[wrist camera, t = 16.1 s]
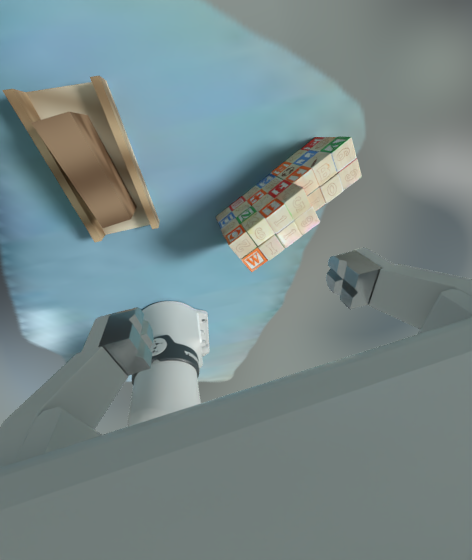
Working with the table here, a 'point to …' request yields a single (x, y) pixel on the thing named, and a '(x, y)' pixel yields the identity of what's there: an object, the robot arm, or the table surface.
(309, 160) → the stack of blocks
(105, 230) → the tan shallow tray
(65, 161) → the walnut block
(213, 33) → the table surface
